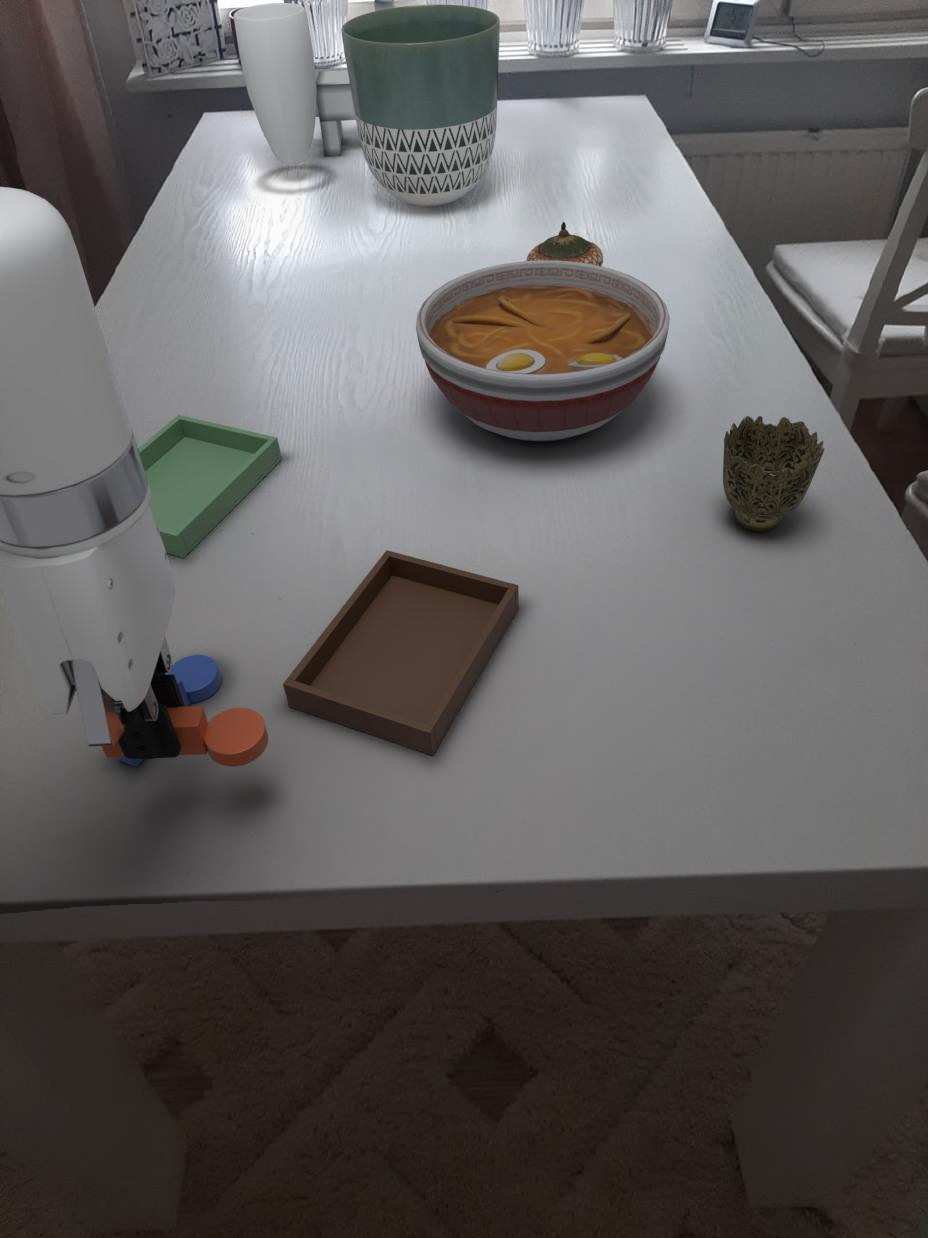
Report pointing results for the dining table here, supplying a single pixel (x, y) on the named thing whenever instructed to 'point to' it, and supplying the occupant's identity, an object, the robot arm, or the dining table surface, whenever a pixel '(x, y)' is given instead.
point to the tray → (404, 650)
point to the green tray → (201, 476)
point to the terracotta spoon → (215, 735)
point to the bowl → (542, 345)
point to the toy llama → (337, 101)
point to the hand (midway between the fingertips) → (157, 737)
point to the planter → (425, 97)
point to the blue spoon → (192, 683)
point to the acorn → (567, 249)
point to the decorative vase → (768, 469)
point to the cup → (279, 75)
